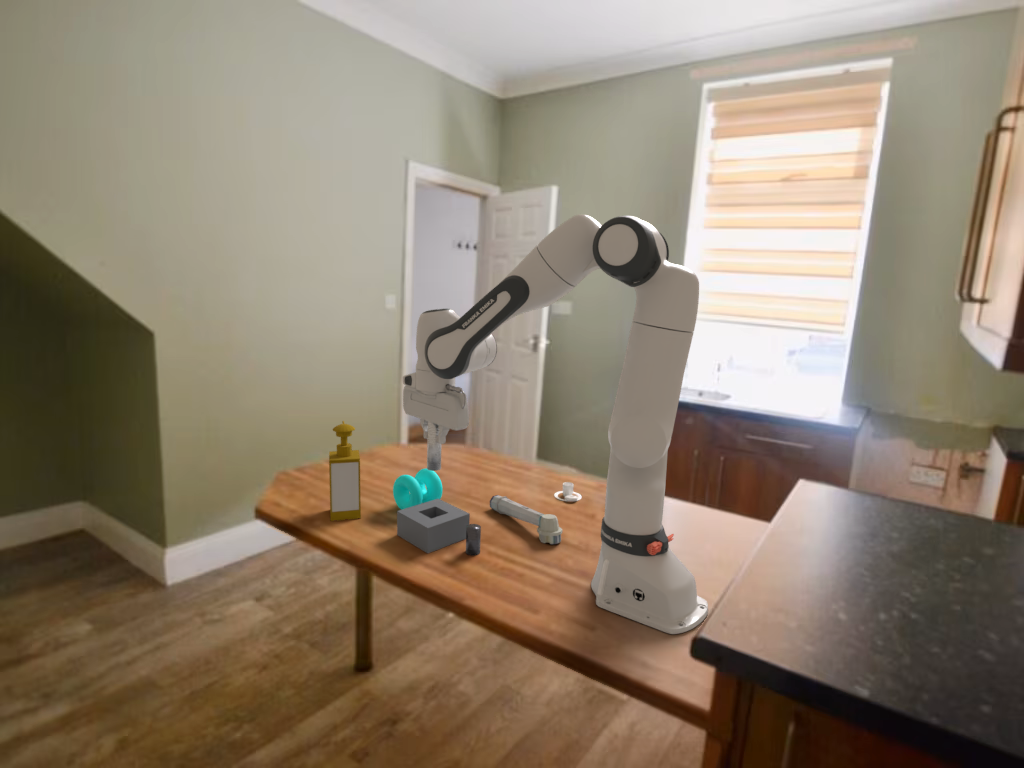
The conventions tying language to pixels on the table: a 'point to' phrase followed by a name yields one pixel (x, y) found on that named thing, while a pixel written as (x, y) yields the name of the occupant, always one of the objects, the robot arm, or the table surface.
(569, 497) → the teacup and saucer
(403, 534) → the hole block
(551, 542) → the toothbrush head
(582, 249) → the robot arm
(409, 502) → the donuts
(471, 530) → the short pin
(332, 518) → the soap bottle
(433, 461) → the long pin
